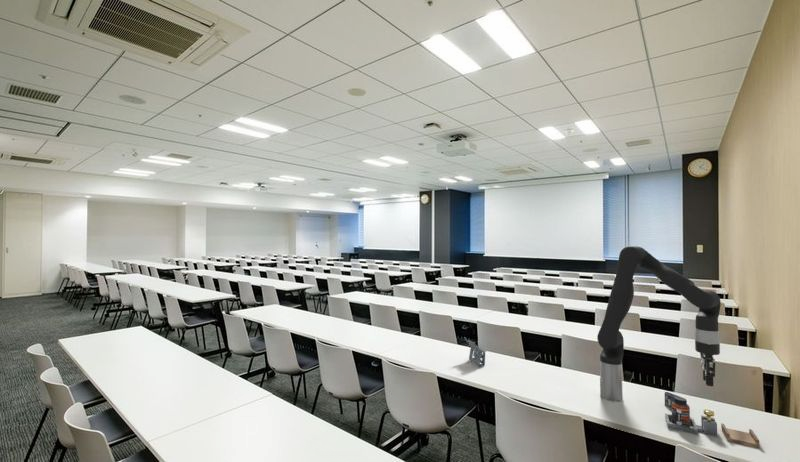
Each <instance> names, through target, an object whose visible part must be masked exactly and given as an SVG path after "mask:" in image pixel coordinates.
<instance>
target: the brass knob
mask: <svg viewBox="0 0 800 462" xmlns="http://www.w3.org/2000/svg"><path fill="white" fill-rule="evenodd" d="M703 415H704V416H705V415H706V416H707V420H710V421H711V417H714V416H715V411H712V410H710V409H703Z"/></svg>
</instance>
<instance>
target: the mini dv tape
mask: <svg viewBox="0 0 800 462" xmlns="http://www.w3.org/2000/svg"><path fill="white" fill-rule="evenodd" d="M674 397H681V396H679V395H677V394H674V393H672V392H669V391H664V406H666V407H669V408H670V409H672V402H673V401H675V400H674Z"/></svg>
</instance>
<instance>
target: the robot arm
mask: <svg viewBox="0 0 800 462" xmlns="http://www.w3.org/2000/svg"><path fill="white" fill-rule="evenodd" d="M637 267H640V268H643V269H644V270H646V271H648V272H650V273H652V274H653V275H654V276H655V277H656V278H657V279H658V280H660V281H661V283H663V284H664V285H665V286H667V287H668V288H670V289H672V290H673V291H675V292H676V293H678V294H679V295H681V296H682V297H683V298H685V300H687V301H688V302H689V303H690V304H691V305H693V306H694V307H697V308H698V313H697V314H696V315H695V331H694V349H695V351H696V352H697V353H699V354H700V364H701V365H700V367H701V370H702V380H703V381H704V382H705V385H706V386H708V387H714V378H715V377H716V359H715V358H714V356H718V355H720V354H721V345H720V331H719V315H720V311H721V306H722V305H721V298H720V295H718V293H717V292H715V291H713V290H708V289H707V290H703V289H701V288H699V286H697V285H696V284H695V282H694V281H693V280H691V279H689V278H687V276H684V275H683V274H681V273H680V272H678V271H676V270H674V269H672V268H671V267H669V266H667V265H665V264H664V263H663V262H661V261H660V260H659V259H657V258H656V257H654V256H653V255H652V253H650V252H648V251H647V250H646V249H645V248H643V247H641V246H638V245H637V246H636V245H628V246H625V247H623V248H622V249H621V250H620V252H619V256H618V262H617V268H616V272H615V273H616V274H615V277H614V280H613V284H612V287H611V291H610V294H609V297H608V302H607V305H606V310H605V314H604V318H603V321H602V324H601V326H600V329H599V331H598V333H597V342H598V344H599V346H600V347H601V348H602V351H601V353H600V355H599V364H600V365H599V371H600V377H599V382H600V384H599V387H600V389H599V390H600V393H599V396H600V398H601V399H605V400H607V401H612V402H622V401H623V395H624V394H623V358H624V351H625V348H624V346H625V345H624V343H625V342H624V341H625V340H624V337H623V336H624V335H623V333H622V332H621V331H620V328H621V325H622V323H623V321H624V319H625V318H626V316H627V314H628V313H629V311H630V310H631V306H632V303H633V299H634V294H635V287H634V275H635V272H636V269H637Z"/></svg>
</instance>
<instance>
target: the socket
mask: <svg viewBox="0 0 800 462" xmlns="http://www.w3.org/2000/svg"><path fill="white" fill-rule="evenodd" d="M700 417H701V418H700V419H701V420H700V421H701V422H700V423H701V425H700V424H699V425H698V424H696V421H695V419H694V418H690V425H691V426H692V427H691V426H690V427H687V426H683V425H678V424H673V423H672V422H671V421H672V413H671V414H670V413H664V419H665V423H666V428H667V427H668V428H667V429H670V428H671V430H676V431H680V432H685V433H689V434H692V435H699V432H701V433H703V434H704V435H708V436H713V437H716V438H717V437H718V423H717V421H716V419H715V418H714V417H713V416H711V421H710V420H707V415H706V416H705V415H700Z"/></svg>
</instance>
